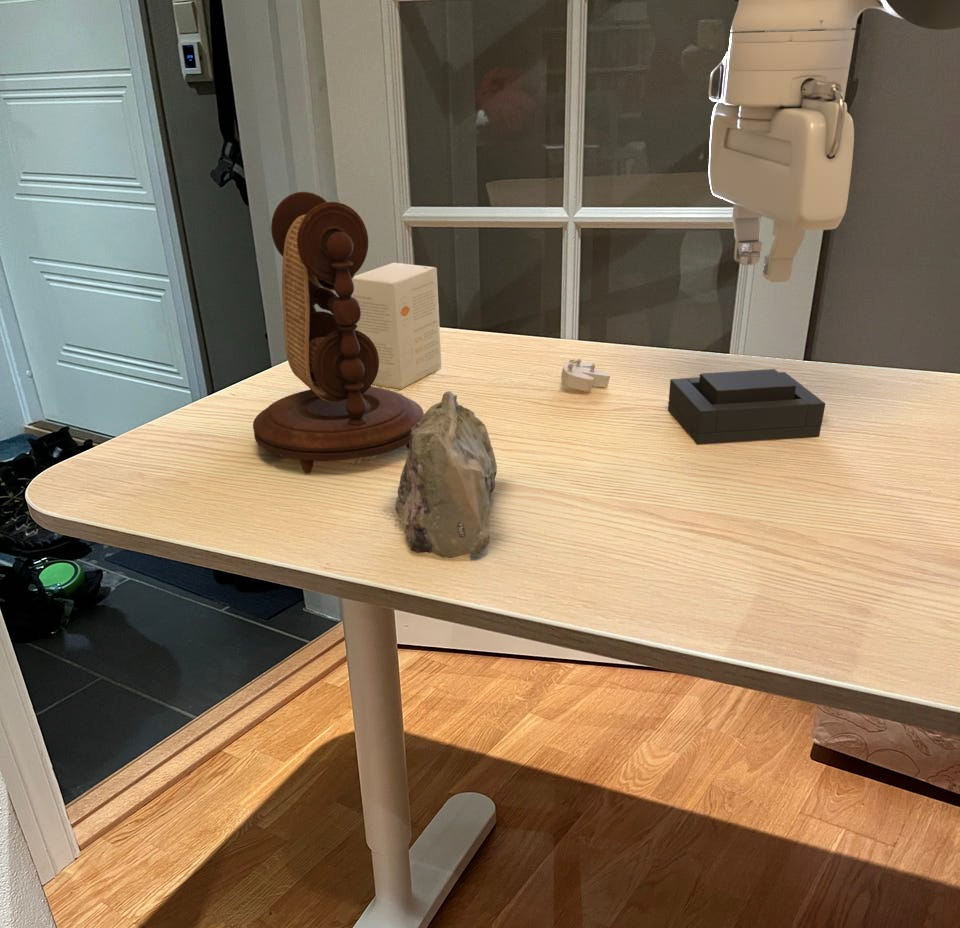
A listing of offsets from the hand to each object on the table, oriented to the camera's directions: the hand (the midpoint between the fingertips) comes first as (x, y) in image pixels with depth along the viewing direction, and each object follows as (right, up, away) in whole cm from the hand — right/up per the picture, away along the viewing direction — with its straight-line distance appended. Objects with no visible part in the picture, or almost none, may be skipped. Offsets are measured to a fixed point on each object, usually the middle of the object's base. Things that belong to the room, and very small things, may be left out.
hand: (760, 271), depth 78 cm
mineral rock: (-25, -22, -8) cm, 34 cm away
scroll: (-36, -14, +5) cm, 38 cm away
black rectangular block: (0, -10, +7) cm, 12 cm away
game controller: (-16, -5, +18) cm, 24 cm away
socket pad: (0, -11, +7) cm, 13 cm away
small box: (-32, -3, +21) cm, 38 cm away
